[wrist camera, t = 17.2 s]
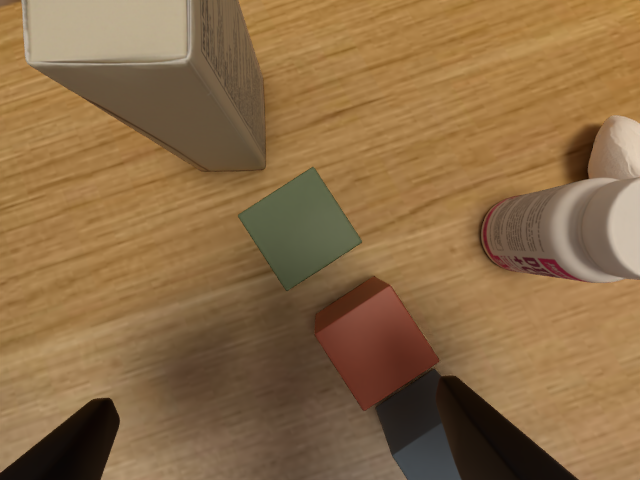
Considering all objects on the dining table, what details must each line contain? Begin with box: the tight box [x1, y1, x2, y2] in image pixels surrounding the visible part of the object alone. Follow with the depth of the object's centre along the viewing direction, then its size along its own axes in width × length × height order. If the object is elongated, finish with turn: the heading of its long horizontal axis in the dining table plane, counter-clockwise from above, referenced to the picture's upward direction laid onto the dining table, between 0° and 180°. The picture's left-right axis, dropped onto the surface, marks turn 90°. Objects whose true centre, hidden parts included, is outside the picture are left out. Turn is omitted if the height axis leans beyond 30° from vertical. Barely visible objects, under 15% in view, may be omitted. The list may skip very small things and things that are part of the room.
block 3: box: [376, 369, 461, 480], centre depth 17 cm, size 4×4×4 cm
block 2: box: [315, 276, 439, 411], centre depth 17 cm, size 4×4×4 cm
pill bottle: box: [481, 177, 640, 283], centre depth 16 cm, size 5×5×8 cm
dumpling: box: [588, 115, 640, 180], centre depth 18 cm, size 7×5×4 cm
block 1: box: [238, 167, 362, 291], centre depth 17 cm, size 4×4×4 cm
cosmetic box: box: [22, 0, 265, 171], centre depth 14 cm, size 6×4×12 cm
